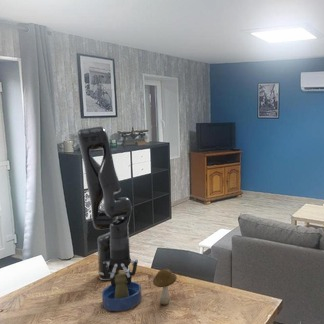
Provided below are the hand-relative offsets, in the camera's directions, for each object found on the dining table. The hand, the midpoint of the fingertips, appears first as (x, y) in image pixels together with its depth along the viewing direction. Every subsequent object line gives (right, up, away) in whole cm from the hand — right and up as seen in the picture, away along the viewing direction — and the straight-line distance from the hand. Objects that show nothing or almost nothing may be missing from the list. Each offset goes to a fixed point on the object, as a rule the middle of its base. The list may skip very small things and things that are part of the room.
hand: (121, 284), depth 141 cm
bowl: (0, -8, +1) cm, 8 cm away
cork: (0, -7, +1) cm, 7 cm away
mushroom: (+18, -8, +1) cm, 20 cm away
